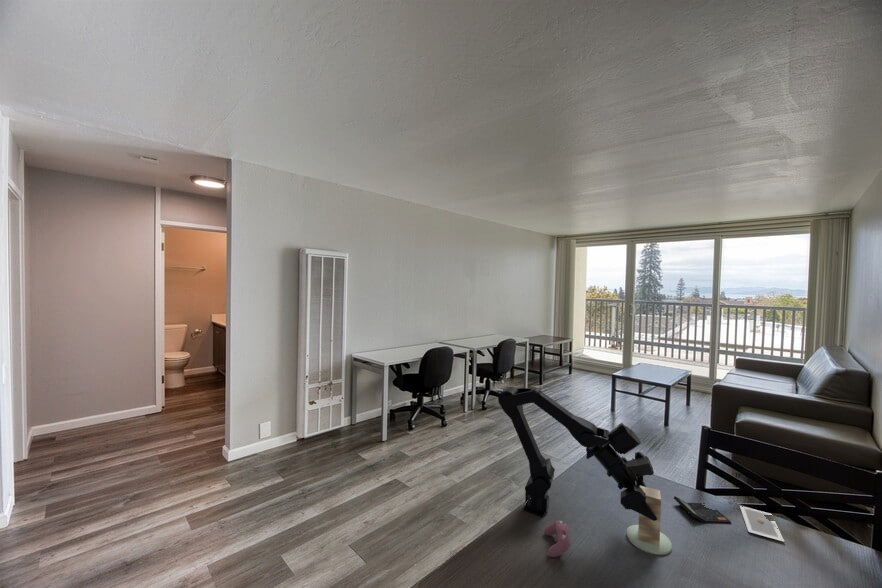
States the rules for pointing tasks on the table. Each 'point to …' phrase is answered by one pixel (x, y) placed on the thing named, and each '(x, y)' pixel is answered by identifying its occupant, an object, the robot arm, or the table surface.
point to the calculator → (703, 512)
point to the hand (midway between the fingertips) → (654, 510)
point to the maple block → (648, 527)
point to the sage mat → (647, 547)
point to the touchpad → (760, 523)
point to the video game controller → (558, 538)
